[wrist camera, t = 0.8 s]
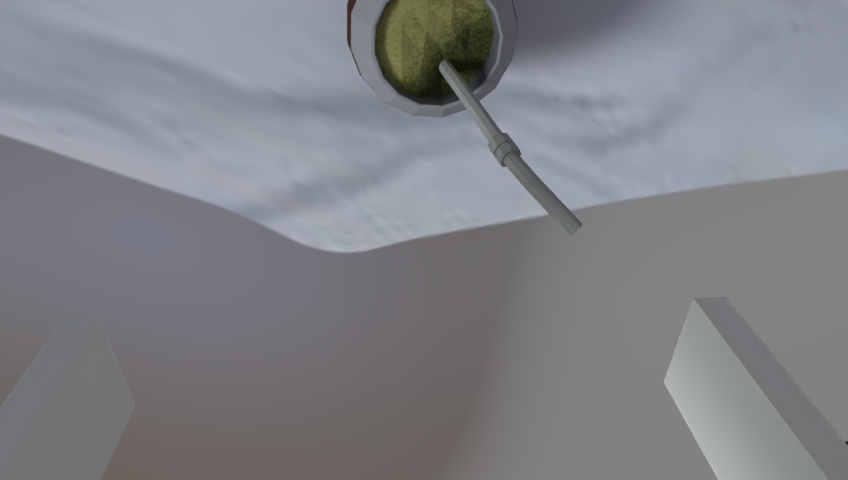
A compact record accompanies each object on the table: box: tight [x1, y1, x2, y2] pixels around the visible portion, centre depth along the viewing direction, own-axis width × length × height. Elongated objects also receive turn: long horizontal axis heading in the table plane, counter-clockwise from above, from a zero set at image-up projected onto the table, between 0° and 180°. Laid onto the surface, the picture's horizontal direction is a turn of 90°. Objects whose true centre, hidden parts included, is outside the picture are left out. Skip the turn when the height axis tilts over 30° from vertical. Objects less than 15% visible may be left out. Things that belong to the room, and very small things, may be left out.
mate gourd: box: [347, 0, 582, 235], centre depth 21 cm, size 8×8×15 cm
